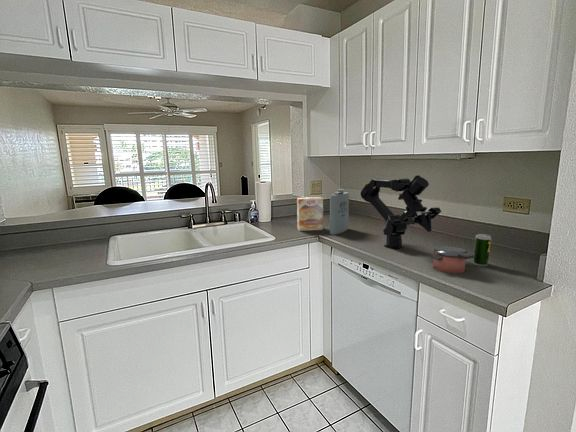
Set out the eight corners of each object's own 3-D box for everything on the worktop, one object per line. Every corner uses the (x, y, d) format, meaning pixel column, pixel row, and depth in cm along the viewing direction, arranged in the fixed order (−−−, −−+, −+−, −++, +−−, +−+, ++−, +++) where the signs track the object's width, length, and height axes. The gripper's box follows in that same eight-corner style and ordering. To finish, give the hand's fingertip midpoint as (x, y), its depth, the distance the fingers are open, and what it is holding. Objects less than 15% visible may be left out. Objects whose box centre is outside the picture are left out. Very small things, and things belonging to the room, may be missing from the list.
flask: (335, 235, 176) (336, 191, 171) (328, 233, 178) (329, 190, 174) (350, 229, 189) (351, 188, 184) (343, 228, 192) (344, 187, 187)
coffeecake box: (298, 231, 186) (298, 199, 182) (297, 228, 193) (296, 197, 189) (323, 229, 188) (323, 198, 184) (320, 227, 195) (320, 196, 191)
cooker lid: (427, 250, 124) (427, 248, 124) (448, 247, 128) (448, 245, 128) (458, 260, 111) (458, 258, 111) (480, 256, 115) (481, 253, 115)
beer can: (473, 265, 125) (475, 236, 122) (472, 261, 129) (475, 233, 127) (488, 267, 122) (492, 237, 120) (487, 263, 127) (491, 234, 124)
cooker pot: (421, 265, 125) (422, 251, 124) (449, 260, 130) (450, 246, 129) (445, 276, 114) (447, 260, 113) (475, 269, 120) (476, 254, 119)
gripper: (418, 210, 147) (435, 238, 139) (386, 214, 140) (402, 243, 132) (432, 195, 138) (451, 225, 130) (398, 199, 131) (416, 230, 123)
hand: (430, 231), depth 129 cm, fingers closed
